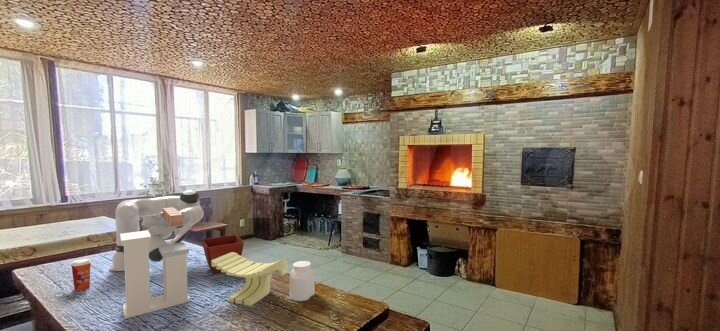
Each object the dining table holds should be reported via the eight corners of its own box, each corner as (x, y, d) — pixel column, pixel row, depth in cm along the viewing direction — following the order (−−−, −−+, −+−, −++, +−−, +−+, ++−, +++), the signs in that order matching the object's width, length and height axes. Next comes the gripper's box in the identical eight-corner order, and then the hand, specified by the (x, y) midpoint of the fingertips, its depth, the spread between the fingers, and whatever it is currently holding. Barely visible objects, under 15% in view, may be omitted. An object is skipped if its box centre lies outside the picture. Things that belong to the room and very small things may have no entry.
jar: (304, 302, 141) (304, 269, 140) (286, 299, 144) (285, 266, 144) (317, 292, 151) (317, 261, 151) (300, 288, 155) (299, 258, 154)
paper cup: (80, 292, 153) (78, 263, 152) (67, 291, 154) (66, 262, 154) (96, 285, 160) (95, 258, 160) (84, 284, 162) (83, 257, 161)
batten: (162, 217, 152) (162, 208, 152) (173, 216, 155) (173, 207, 155) (170, 226, 134) (170, 215, 133) (182, 224, 136) (182, 214, 136)
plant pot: (244, 270, 180) (244, 241, 179) (208, 278, 169) (207, 247, 168) (236, 261, 195) (236, 234, 195) (202, 268, 185) (201, 239, 184)
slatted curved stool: (287, 293, 150) (287, 256, 149) (266, 309, 135) (266, 268, 134) (236, 284, 160) (236, 250, 160) (212, 298, 145) (211, 260, 145)
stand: (122, 306, 139) (120, 233, 137) (184, 290, 154) (182, 225, 152) (124, 319, 128) (121, 240, 126) (190, 301, 143) (188, 231, 141)
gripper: (140, 219, 156) (142, 209, 146) (187, 214, 169) (191, 204, 159) (141, 232, 154) (143, 222, 144) (188, 225, 166) (193, 216, 157)
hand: (169, 212), depth 152 cm, fingers closed on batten, 4 cm apart
